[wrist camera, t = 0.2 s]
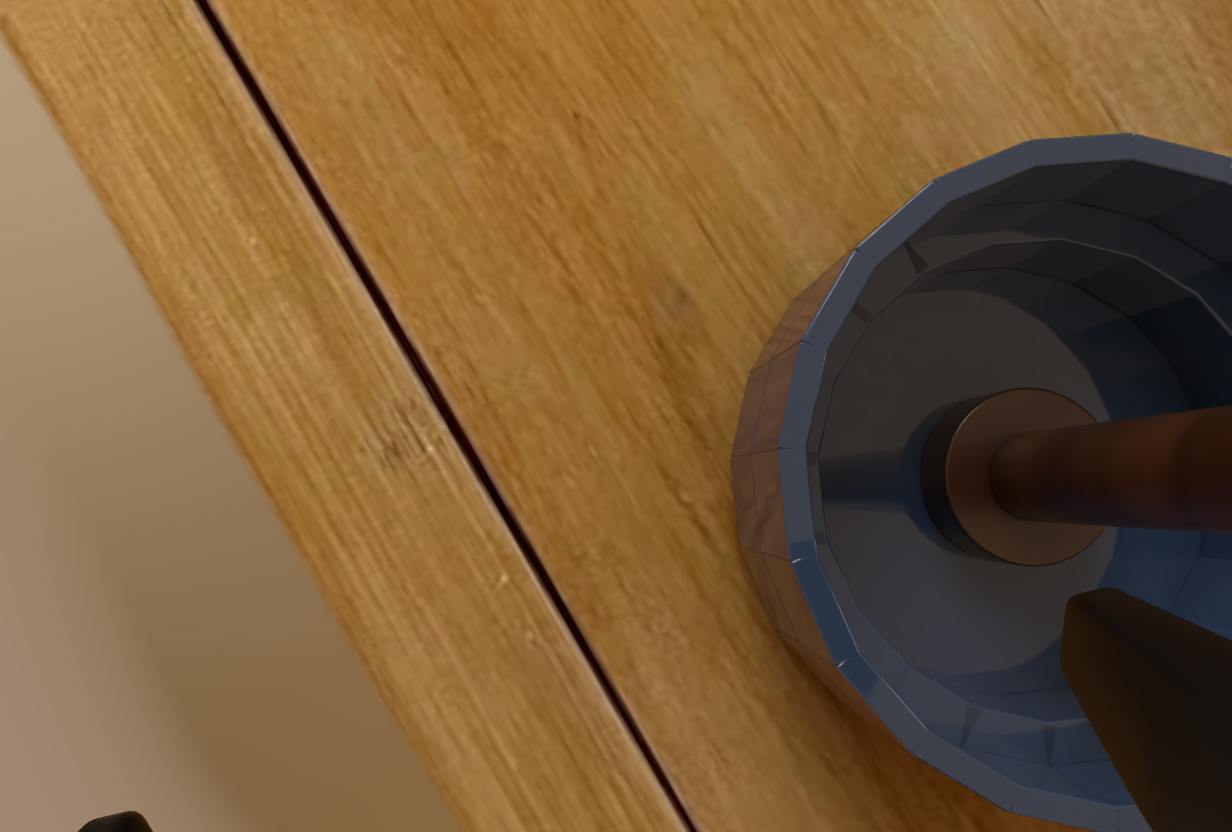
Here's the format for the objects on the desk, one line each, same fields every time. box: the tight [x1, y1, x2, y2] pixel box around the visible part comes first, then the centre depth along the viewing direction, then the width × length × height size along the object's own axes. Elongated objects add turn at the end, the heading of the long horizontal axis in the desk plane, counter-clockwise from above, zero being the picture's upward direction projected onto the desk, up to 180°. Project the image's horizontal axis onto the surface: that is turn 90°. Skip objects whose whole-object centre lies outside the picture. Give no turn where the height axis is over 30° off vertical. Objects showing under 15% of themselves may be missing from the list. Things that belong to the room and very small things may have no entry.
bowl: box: [731, 133, 1232, 832], centre depth 22 cm, size 14×14×6 cm
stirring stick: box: [921, 388, 1232, 567], centre depth 16 cm, size 4×4×16 cm
